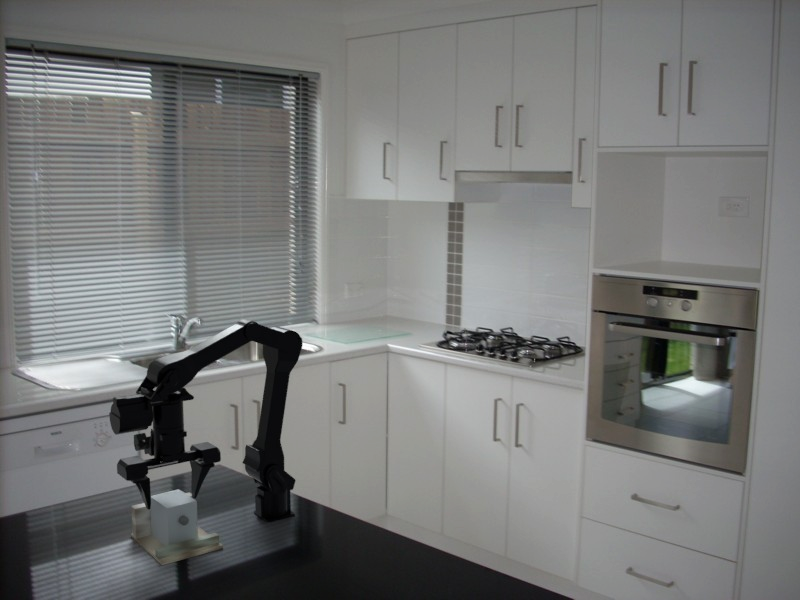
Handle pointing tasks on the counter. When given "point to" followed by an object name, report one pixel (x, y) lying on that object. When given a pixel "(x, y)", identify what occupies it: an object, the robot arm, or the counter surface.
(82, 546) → the counter surface
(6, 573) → the counter surface
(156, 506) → the cabinet block
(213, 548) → the cleat board
